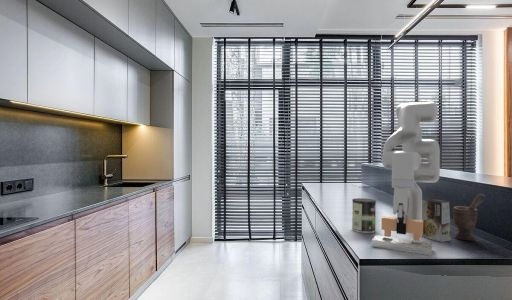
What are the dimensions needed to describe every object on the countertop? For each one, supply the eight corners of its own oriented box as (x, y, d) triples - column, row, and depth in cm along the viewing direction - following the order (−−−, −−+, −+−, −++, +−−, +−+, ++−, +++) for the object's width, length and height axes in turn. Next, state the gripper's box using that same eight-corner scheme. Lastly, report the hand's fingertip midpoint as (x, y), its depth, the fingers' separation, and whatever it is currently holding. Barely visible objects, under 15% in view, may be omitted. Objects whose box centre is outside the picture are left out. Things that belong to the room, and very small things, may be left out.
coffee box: (451, 240, 132) (452, 201, 133) (441, 242, 130) (442, 202, 130) (430, 235, 141) (431, 198, 141) (421, 236, 138) (421, 199, 138)
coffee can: (377, 229, 149) (378, 199, 149) (372, 234, 140) (373, 202, 140) (355, 226, 154) (355, 197, 154) (349, 231, 145) (349, 200, 145)
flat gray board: (371, 246, 122) (371, 239, 122) (375, 241, 129) (375, 235, 129) (431, 255, 112) (431, 248, 112) (432, 249, 119) (432, 243, 119)
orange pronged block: (381, 236, 122) (381, 217, 123) (382, 233, 126) (383, 216, 126) (422, 241, 115) (422, 222, 115) (423, 239, 119) (423, 220, 119)
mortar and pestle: (487, 240, 133) (488, 192, 133) (483, 244, 127) (484, 194, 127) (455, 235, 141) (456, 190, 141) (450, 238, 135) (451, 191, 135)
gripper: (394, 181, 130) (393, 226, 130) (388, 185, 115) (387, 235, 115) (415, 183, 126) (414, 229, 126) (411, 186, 112) (411, 239, 112)
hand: (401, 232), depth 121 cm, fingers closed on orange pronged block, 4 cm apart
